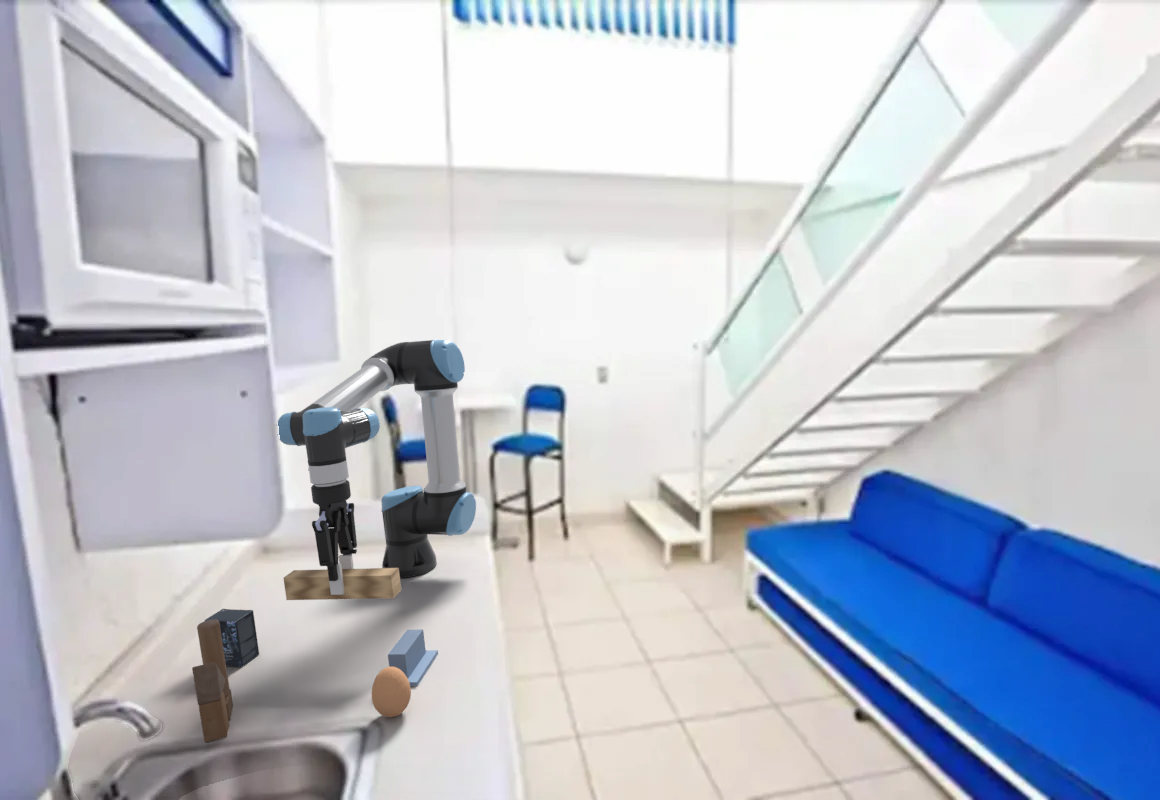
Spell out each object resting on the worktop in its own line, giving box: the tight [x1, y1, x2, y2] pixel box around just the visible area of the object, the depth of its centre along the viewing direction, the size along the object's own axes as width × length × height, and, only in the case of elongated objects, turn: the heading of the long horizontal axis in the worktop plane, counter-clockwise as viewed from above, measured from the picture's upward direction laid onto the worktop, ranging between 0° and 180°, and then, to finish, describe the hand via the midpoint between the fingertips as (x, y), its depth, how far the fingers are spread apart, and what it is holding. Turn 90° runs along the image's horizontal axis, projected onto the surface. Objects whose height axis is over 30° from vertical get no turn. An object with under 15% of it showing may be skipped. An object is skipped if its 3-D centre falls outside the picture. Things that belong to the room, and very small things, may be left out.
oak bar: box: [283, 567, 402, 601], centre depth 139 cm, size 24×4×5 cm, turn 82°
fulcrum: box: [387, 629, 439, 687], centre depth 133 cm, size 12×8×6 cm, turn 173°
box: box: [204, 608, 260, 668], centre depth 142 cm, size 8×6×11 cm
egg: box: [371, 666, 412, 718], centre depth 117 cm, size 7×7×9 cm
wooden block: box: [191, 619, 234, 743], centre depth 118 cm, size 4×11×18 cm, turn 23°
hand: (343, 588), depth 139 cm, fingers closed on oak bar, 4 cm apart
